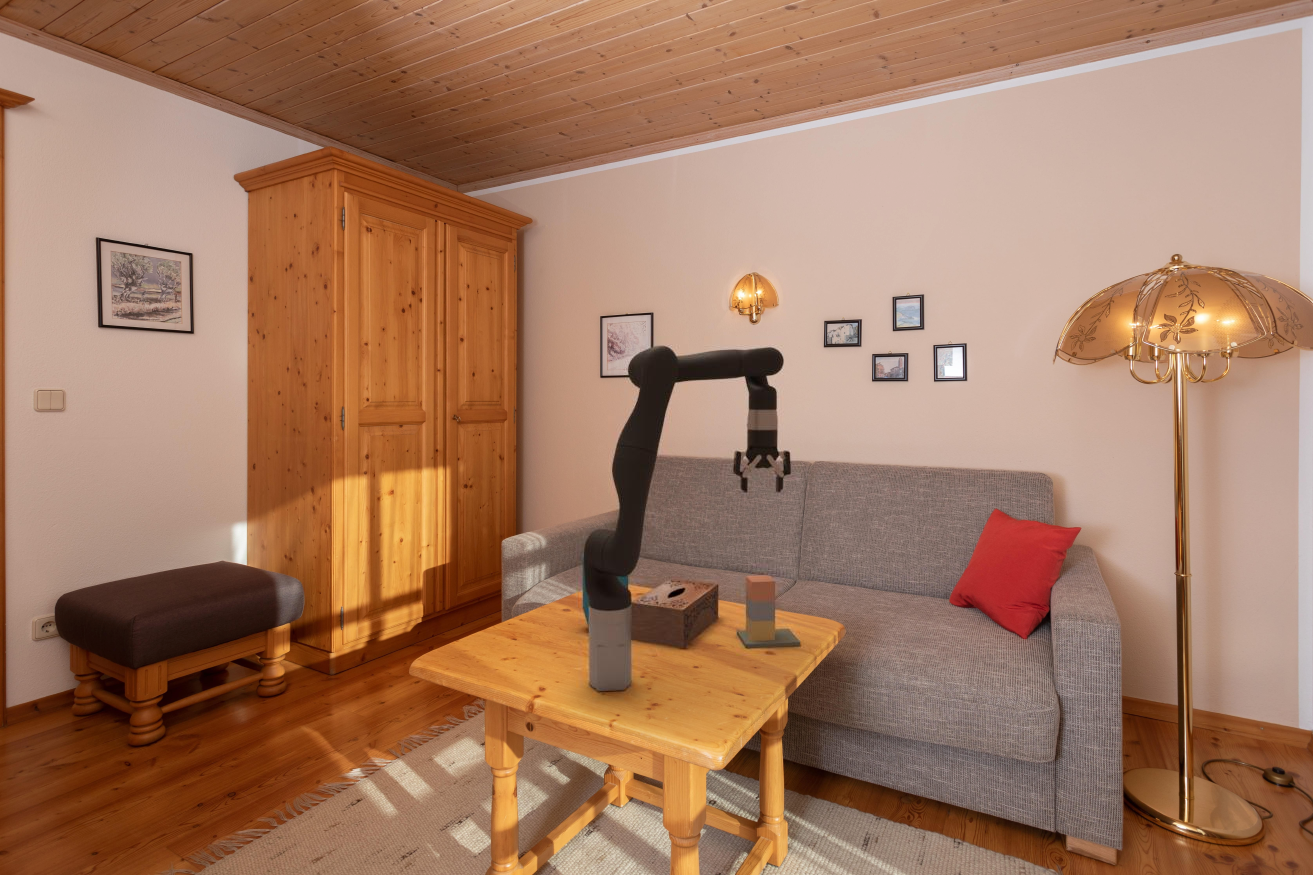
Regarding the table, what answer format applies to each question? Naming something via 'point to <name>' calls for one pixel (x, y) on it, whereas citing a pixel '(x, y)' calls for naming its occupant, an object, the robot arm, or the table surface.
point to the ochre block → (760, 630)
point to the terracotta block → (760, 588)
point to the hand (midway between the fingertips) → (761, 492)
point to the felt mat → (781, 640)
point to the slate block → (760, 610)
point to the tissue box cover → (674, 612)
